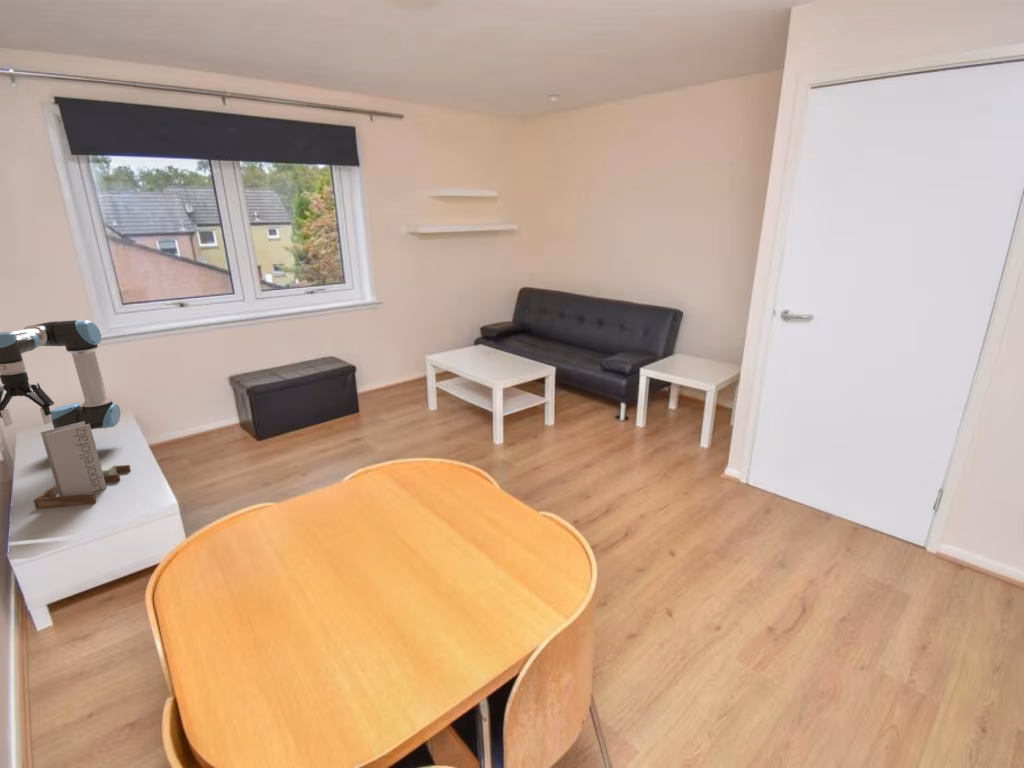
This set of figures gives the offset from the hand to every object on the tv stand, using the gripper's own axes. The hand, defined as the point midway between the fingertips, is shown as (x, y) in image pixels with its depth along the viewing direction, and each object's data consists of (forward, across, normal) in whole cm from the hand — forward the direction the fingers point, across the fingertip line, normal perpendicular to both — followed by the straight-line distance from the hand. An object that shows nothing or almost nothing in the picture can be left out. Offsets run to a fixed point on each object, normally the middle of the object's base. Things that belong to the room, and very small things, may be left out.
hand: (28, 424), depth 198 cm
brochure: (+33, +12, +1) cm, 35 cm away
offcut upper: (+30, +10, +14) cm, 35 cm away
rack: (+33, +12, +1) cm, 35 cm away
